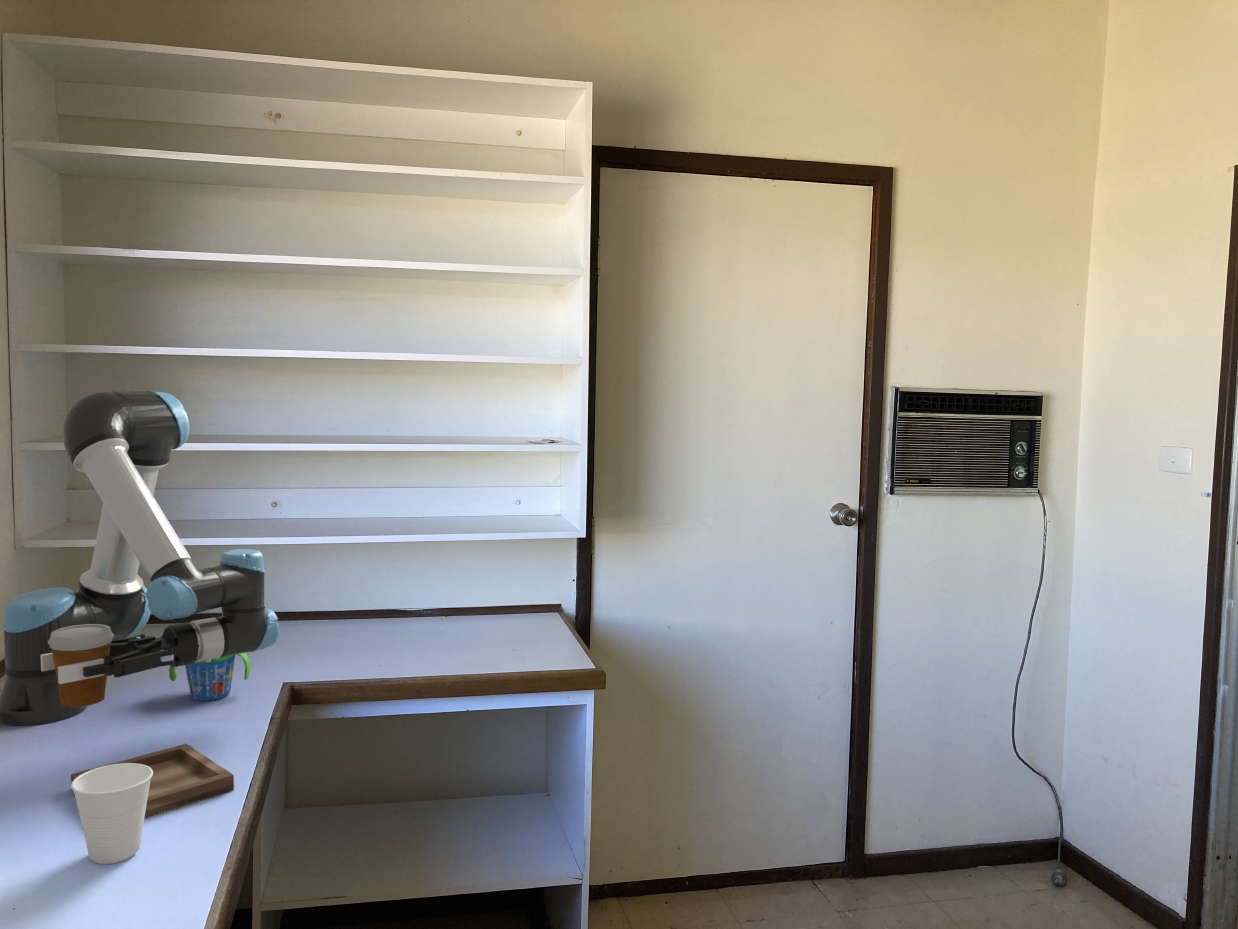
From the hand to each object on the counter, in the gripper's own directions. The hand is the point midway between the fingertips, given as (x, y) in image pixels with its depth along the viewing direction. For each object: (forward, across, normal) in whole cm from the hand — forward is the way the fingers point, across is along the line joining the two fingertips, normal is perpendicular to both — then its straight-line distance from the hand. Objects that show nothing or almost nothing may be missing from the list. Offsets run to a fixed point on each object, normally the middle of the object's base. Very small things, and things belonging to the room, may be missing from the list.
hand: (50, 669), depth 150 cm
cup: (+2, -34, -18) cm, 39 cm away
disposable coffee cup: (-5, 0, -7) cm, 8 cm away
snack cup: (-35, +20, -18) cm, 44 cm away
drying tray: (-9, -17, -18) cm, 26 cm away
